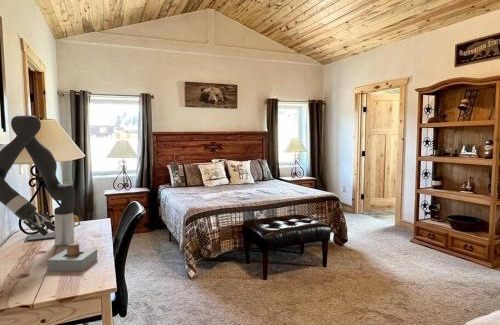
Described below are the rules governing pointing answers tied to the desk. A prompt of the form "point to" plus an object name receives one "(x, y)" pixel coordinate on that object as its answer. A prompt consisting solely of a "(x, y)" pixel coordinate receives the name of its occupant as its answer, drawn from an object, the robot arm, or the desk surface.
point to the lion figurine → (76, 219)
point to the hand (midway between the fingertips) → (50, 231)
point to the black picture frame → (40, 237)
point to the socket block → (72, 260)
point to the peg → (73, 250)
